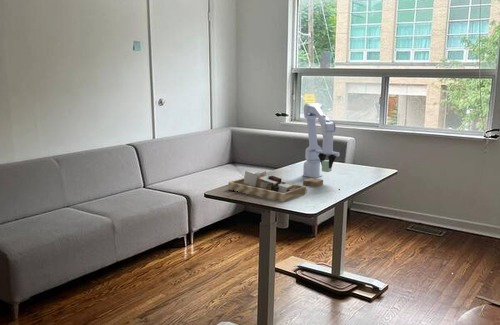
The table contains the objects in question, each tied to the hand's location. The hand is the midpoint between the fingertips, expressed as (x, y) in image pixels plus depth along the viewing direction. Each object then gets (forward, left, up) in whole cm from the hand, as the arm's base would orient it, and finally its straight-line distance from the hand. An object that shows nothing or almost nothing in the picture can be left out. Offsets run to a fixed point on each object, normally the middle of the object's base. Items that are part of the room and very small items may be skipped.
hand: (326, 167), depth 270 cm
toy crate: (-14, -37, -9) cm, 41 cm away
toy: (-13, -35, -10) cm, 39 cm away
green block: (0, 0, -2) cm, 2 cm away
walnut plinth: (-4, -7, -10) cm, 13 cm away
